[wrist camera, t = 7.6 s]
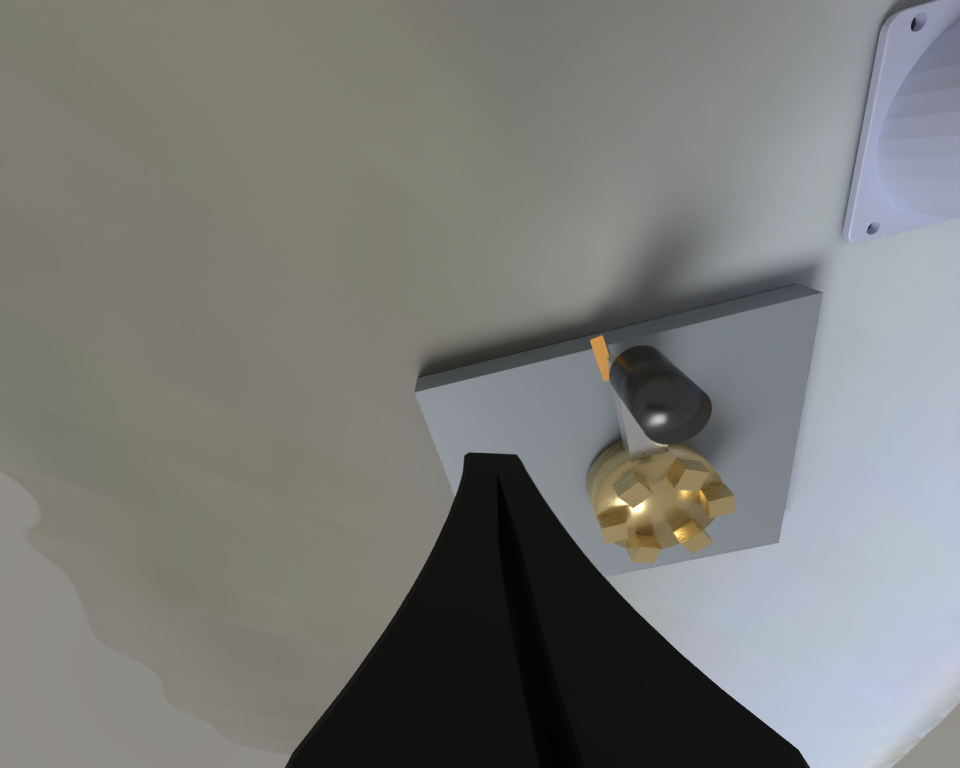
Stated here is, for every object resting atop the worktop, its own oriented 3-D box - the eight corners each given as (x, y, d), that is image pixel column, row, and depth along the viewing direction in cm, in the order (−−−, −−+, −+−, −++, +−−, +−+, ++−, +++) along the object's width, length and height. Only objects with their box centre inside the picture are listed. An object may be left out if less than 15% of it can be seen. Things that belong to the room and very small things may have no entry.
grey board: (799, 271, 18) (826, 279, 17) (763, 524, 27) (779, 544, 25) (413, 367, 20) (410, 382, 19) (493, 578, 28) (494, 599, 27)
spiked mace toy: (703, 502, 23) (763, 585, 18) (596, 530, 24) (628, 615, 19) (691, 309, 17) (773, 359, 13) (549, 353, 18) (579, 415, 13)
